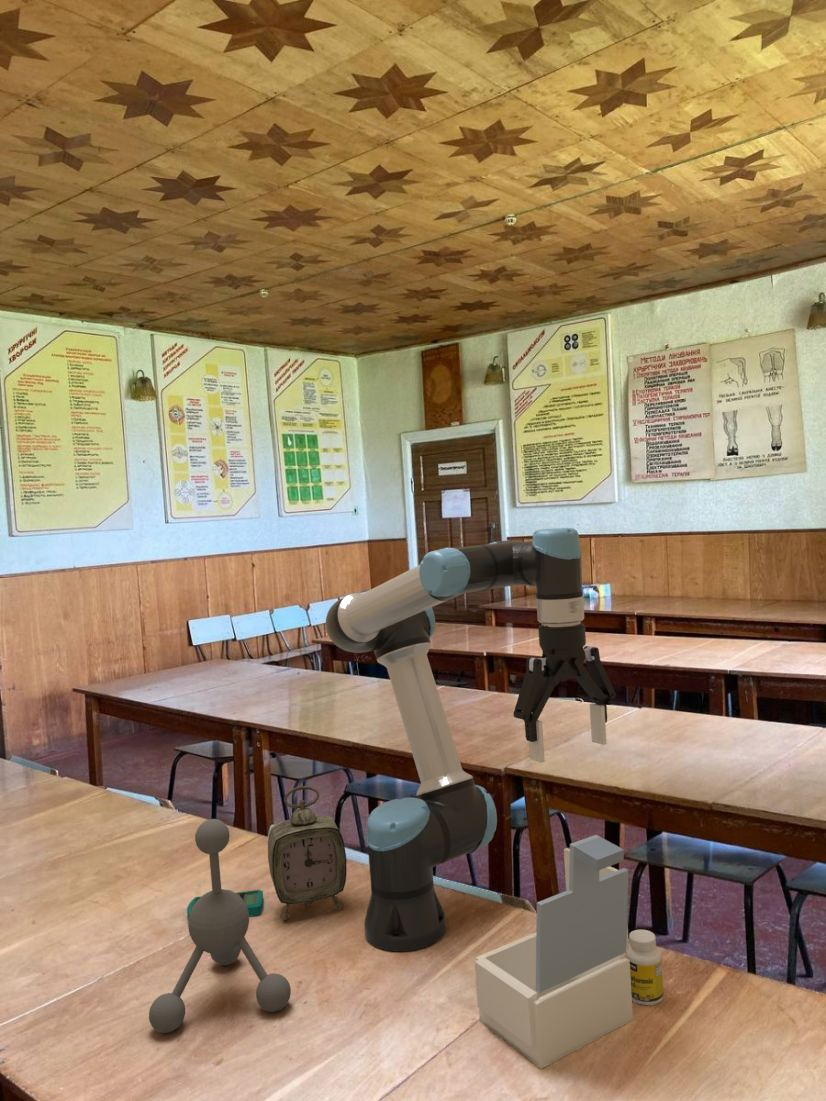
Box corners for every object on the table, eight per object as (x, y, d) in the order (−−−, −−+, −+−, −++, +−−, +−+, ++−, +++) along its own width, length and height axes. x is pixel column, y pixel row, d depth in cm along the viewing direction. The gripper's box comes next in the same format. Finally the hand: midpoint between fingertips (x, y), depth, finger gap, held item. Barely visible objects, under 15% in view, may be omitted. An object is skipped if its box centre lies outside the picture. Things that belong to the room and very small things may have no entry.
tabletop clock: (276, 926, 165) (266, 798, 164) (270, 906, 174) (261, 785, 172) (350, 911, 169) (341, 786, 168) (341, 892, 178) (332, 773, 176)
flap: (537, 855, 116) (564, 872, 112) (625, 824, 125) (653, 838, 121) (535, 989, 119) (561, 1011, 115) (622, 949, 128) (649, 968, 124)
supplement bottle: (621, 999, 133) (618, 938, 133) (636, 983, 138) (633, 923, 137) (655, 1010, 130) (651, 947, 130) (669, 993, 134) (665, 932, 134)
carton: (475, 1023, 130) (466, 881, 129) (572, 978, 140) (564, 846, 139) (536, 1071, 118) (526, 915, 117) (636, 1017, 129) (628, 874, 127)
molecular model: (116, 1009, 141) (100, 829, 139) (231, 953, 156) (218, 791, 155) (190, 1069, 124) (173, 866, 122) (311, 1000, 139) (297, 819, 138)
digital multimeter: (191, 909, 176) (190, 895, 176) (264, 900, 177) (263, 887, 177) (185, 926, 169) (184, 912, 168) (262, 917, 170) (260, 903, 170)
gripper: (516, 635, 130) (524, 773, 131) (632, 615, 143) (639, 740, 145) (486, 631, 136) (494, 762, 138) (600, 612, 150) (607, 732, 151)
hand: (569, 751), depth 141 cm, fingers open, 13 cm apart
